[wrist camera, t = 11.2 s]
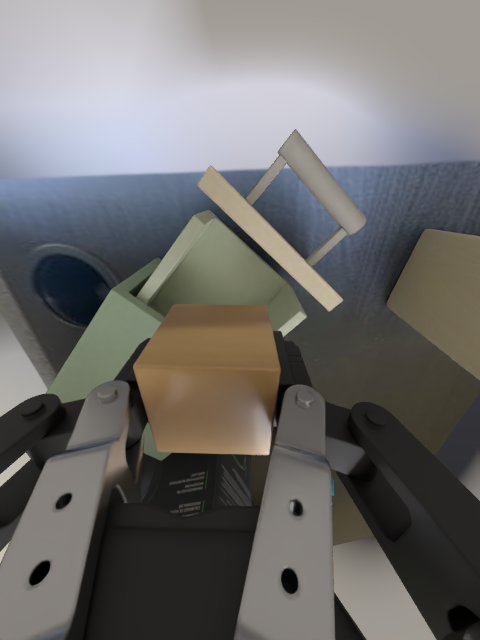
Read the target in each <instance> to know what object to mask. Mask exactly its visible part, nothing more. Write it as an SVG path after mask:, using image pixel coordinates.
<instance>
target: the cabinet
mask: <svg viewBox="0 0 480 640" xmlns="http://www.w3.org/2000/svg"><path fill="white" fill-rule="evenodd" d="M161 261H162V260H161V259H160V258H159V257H157V258H156V259H154V260H153V261H152V262H150V263H149V264H147V265H146V266H144V267H143V268H141V269H140V270H139V271H137V272H136V273H134V274H133V275H131V276H130V277H129V278H127V279H126V280H124V281H123V282H121V283H120V284H118V285H117V286H115V287H114V288H113V289H111V291H110V292H109V294H108V295H107V297H106V299H105V300H104V302H103V303H102V305H101V307H100V308H99V310H98V311H97V313H96V315H95V316H94V318H93V319H92V321H91V322H90V324H89V326H88V327H87V329H86V330H85V332H84V334H83V335H82V337H81V338H80V340H79V342H78V343H77V345H76V346H75V348H74V349H73V351H72V353H71V354H70V356H69V357H68V359H67V361H66V362H65V364H64V365H63V367H62V368H61V370H60V372H59V373H58V375H57V376H56V378H55V380H54V381H53V383H52V384H51V386H50V388H49V389H48V391H47V393H46V394H55V395H57V396H58V397H59V399H60V400H61V402H62V403H66V402H71V401H76V400H80V399H85V398H86V397H87V396H88V394H89V393H90V392H91V391H92V390H93V389H94V388H96V387H97V386H99V385H101V384H103V383H106V382H109V381H113V380H114V379H115V377H116V376H117V375H118V373H119V372H120V370H121V369H122V368H123V366H124V365H125V363H126V362H127V361H128V359H130V356H131V355H132V354H133V353H134V351H135V349H136V348H137V347H138V345H139V344H140V343H142V342H143V341H144V340H146V339H147V338H152V336H153V335H154V333H155V332H156V330H157V329H158V327H159V326H160V324H161V323H162V321H163V320H164V318H165V317H163V316H162V315H160V314H159V313H158V312H156V311H155V310H153V309H152V308H150V307H149V306H147V305H146V304H144V303H143V302H142V301H140V300H139V299H137V298H136V296H137V295H138V293H139V292H140V291H141V289H142V288H143V286H144V285H145V283H146V282H147V281H148V279H149V278H150V276H151V275H152V274H153V272H154V271H155V269H156V268H157V266H158V265H159V264H160V262H161ZM144 434H145V441H144V453H145V454H147V455H149V456H152V457H154V458H156V459H158V460H160V461H162V460H163V459H164V458H166V457H167V456H168V455H170V454H171V453H172V452H158V451H157V449H156V445H155V442H154V438H153V435H152V431H151V428H150V424H149V423H147V424H146V427H145V429H144Z"/></svg>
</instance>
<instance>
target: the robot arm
mask: <svg viewBox="0 0 480 640" xmlns="http://www.w3.org/2000/svg"><path fill="white" fill-rule="evenodd" d="M273 335H274V339H275V344H276V349H277V354H278V359H279V363H280V368H281V373H280V380H279V387H278V395H277V402H276V409H275V417H274V424H273V426H277V433H276V438H275V443H274V445H273V449H272V454H271V459H270V464H269V469H268V474H267V478H266V483H265V488H264V493H263V498H262V503H261V506H229V505H225V506H222V507H218V508H215V509H211V510H208V511H205V512H201V513H198V514H194V515H191V516H187V517H183V516H180V515H177V514H175V513H172V512H170V511H167V510H165V509H162V508H159V507H157V506H154V505H152V504H149V503H142V497H141V475H142V464H143V453H144V441H145V434H144V429H145V427H146V424H147V423H149V421H148V418H147V414H146V411H145V407H144V404H143V400H142V397H141V393H140V390H139V387H138V383H137V380H136V376H135V373H134V369H133V365H134V363H135V362H136V360H137V359H138V357H139V356H140V354H141V353H142V351H143V350H144V348H145V347H146V345H147V344H148V342H149V341H150V339H151V338H147V339H146V340H144V341H143V342H142V343H140V344H139V345H138V347H137V348H136V349H135V351H134V353H133V354H132V355H131V356H130V359H128V361H127V362H126V363H125V365H124V366H123V368H122V369H121V370H120V372H119V373H118V375H117V376H116V377H115V379H114V380H113V381H109V382H106V383H103V384H101V385H99V386H97V387H96V388H94V389H93V390H92V391H91V392H90V393H89V394H88V396H87V397H86V398H85V399H80V400H76V401H71V402H66V403H62V402H61V400H60V399H59V397H58V396H57V395H55V394H42V395H38V396H35V397H32V398H30V399H27V400H25V401H24V402H22V403H20V404H19V405H17V406H16V407H14V408H13V409H12V410H10V411H8V412H7V413H6V414H4V415H3V416H1V417H0V474H1V473H2V472H3V471H4V470H6V469H7V468H8V467H9V466H10V465H11V464H12V463H14V462H15V461H16V460H17V459H18V458H19V457H21V456H22V455H23V454H24V453H25V452H26V453H27V454H28V456H29V457H30V458H31V460H30V461H28V462H27V463H26V464H25V465H24V466H23V467H22V468H21V469H20V470H19V471H17V472H16V473H15V474H14V475H13V476H12V477H11V478H10V479H9V480H7V481H6V482H5V483H4V484H3V485H2V486H1V487H0V551H1V550H2V549H3V548H4V547H5V546H6V545H7V544H8V543H9V542H10V543H9V545H8V548H7V550H6V552H5V554H4V557H3V559H2V561H1V563H0V640H366V638H365V637H364V636H363V634H362V632H361V631H360V629H359V628H358V626H357V625H356V623H355V622H354V621H353V619H352V618H351V616H350V615H349V613H348V612H347V610H346V609H345V607H344V606H343V604H342V603H341V602H340V600H339V599H338V597H337V596H336V594H335V593H334V578H333V537H332V498H331V469H333V470H335V471H336V473H337V474H338V476H339V478H340V479H341V481H342V483H343V484H344V486H345V488H346V489H347V491H348V493H349V494H350V496H351V498H352V499H353V501H354V503H355V504H356V506H357V508H358V509H359V511H360V513H361V514H362V516H363V518H364V519H365V521H366V523H367V524H368V526H369V528H370V529H371V531H372V533H373V534H374V536H375V538H376V539H377V541H378V543H379V544H380V546H381V548H382V549H383V551H384V553H385V554H386V556H387V558H388V559H389V561H390V562H391V564H392V566H393V568H394V569H395V571H396V573H397V574H398V576H399V578H400V579H401V581H402V583H403V584H404V586H405V588H406V589H407V591H408V593H409V594H410V596H411V598H412V599H413V601H414V603H415V604H416V606H417V608H418V609H419V611H420V613H421V614H422V616H423V618H424V619H425V621H426V622H427V624H428V626H429V628H430V629H431V631H432V633H433V634H434V636H435V638H436V639H437V640H480V501H479V500H478V499H477V498H476V497H475V496H474V495H473V494H472V493H471V492H470V491H469V490H468V489H467V488H466V487H465V486H464V485H463V484H462V483H461V482H460V481H459V480H458V479H457V478H456V477H455V476H454V475H453V474H452V473H451V472H450V471H449V470H448V469H447V468H446V467H445V466H444V465H443V464H442V463H440V462H439V460H438V459H437V458H436V457H435V456H434V455H433V454H432V453H431V452H430V451H429V450H428V449H427V448H425V447H424V446H423V445H422V444H421V443H420V442H419V441H418V440H417V439H416V438H415V437H414V436H413V435H412V434H411V433H410V432H409V431H408V430H407V429H406V428H405V427H404V426H403V425H402V424H401V423H400V422H399V421H398V420H397V419H396V418H395V417H394V416H393V415H392V414H391V413H390V412H388V411H387V410H386V409H384V408H382V407H381V406H378V405H376V404H373V403H369V402H360V403H357V404H355V405H354V406H353V407H352V410H350V409H346V408H343V407H339V406H336V405H333V404H330V403H328V402H326V401H325V400H324V398H323V396H322V395H321V394H320V393H319V392H318V391H317V390H315V389H314V388H313V387H312V384H311V381H310V378H309V376H308V373H307V370H306V367H305V364H304V363H303V359H302V357H301V353H300V350H299V348H298V347H297V346H296V345H295V344H294V343H293V342H292V341H284V339H283V335H282V332H281V331H273ZM10 540H11V541H10Z"/></svg>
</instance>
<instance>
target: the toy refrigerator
mask: <svg viewBox="0 0 480 640" xmlns="http://www.w3.org/2000/svg"><path fill="white" fill-rule="evenodd" d="M387 307H388V308H389V309H390V310H391V311H393V312H394V313H395V314H396V315H398V316H399V317H400V318H401V319H403V320H404V321H405V322H407V323H408V324H409V325H410V326H412V327H413V328H414V329H415V330H417V331H418V332H419V333H420V334H422V335H423V336H424V337H425V338H427V339H428V340H429V341H430V342H432V343H433V344H434V345H435V346H437V347H438V348H439V349H441V350H442V351H443V352H444V353H446V354H447V355H448V356H449V357H451V358H452V359H453V360H454V361H456V362H457V363H458V364H459V365H461V366H462V367H463V368H465V369H466V370H467V371H468V372H470V373H471V374H472V375H474V376H475V377H476V378H477V379H479V380H480V236H475V235H468V234H461V233H455V232H448V231H441V230H434V229H425V230H424V231H423V233H422V235H421V236H420V238H419V240H418V242H417V244H416V246H415V248H414V250H413V252H412V254H411V256H410V258H409V260H408V261H407V263H406V265H405V267H404V269H403V271H402V273H401V275H400V277H399V279H398V281H397V283H396V285H395V287H394V289H393V291H392V293H391V295H390V297H389V299H388V301H387Z"/></svg>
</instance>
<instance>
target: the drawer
mask: <svg viewBox="0 0 480 640" xmlns="http://www.w3.org/2000/svg"><path fill="white" fill-rule="evenodd" d="M278 154H279V156H278V158H277V159H276V160H275V162H274V163H273V164H272V165H271V167H270V168H269V169H268V170H267V172H266V173H265V174H264V176H263V177H262V178H261V179H260V181H259V182H258V183H257V184H256V186H255V187H254V188H253V190H252V191H251V192H250V193H249V195H248V196H247V197H246V198H244V197H243V196H242V195H241V194H240V193H239V192H238V191H237V190H236V189H235V188H234V187H233V186H232V185H231V184H230V183H229V182H228V181H227V180H226V179H225V178H224V177H223V176H222V175H221V174H220V173H219V172H217V171H216V170H215V169H214V168H213V167H212V166H209V168H208V169H207V171H206V172H205V174H204V175H203V177H202V178H201V180H200V181H199V183H198V184H197V186H198V187H199V188H200V189H201V190H202V191H203V192H204V193H205V194H206V195H207V196H208V197H209V198H211V199H212V200H213V201H214V202H215V203H216V204H217V205H218V206H219V207H220V208H221V209H222V210H223V211H224V212H225V213H226V214H227V215H228V216H229V217H230V218H231V219H233V220H234V221H235V222H236V223H237V224H238V225H239V226H240V227H241V228H242V229H243V230H244V231H245V232H246V233H247V234H248V235H249V236H250V237H251V238H252V239H253V240H255V241H256V242H257V243H258V244H259V245H260V246H261V247H262V248H263V249H264V250H265V251H266V252H267V253H268V254H269V255H270V256H271V257H272V258H273V259H274V260H275V261H277V262H278V263H279V264H280V265H281V266H282V267H283V268H284V269H285V270H286V271H287V272H288V273H289V274H290V275H291V276H292V277H293V278H294V279H295V280H296V281H297V282H299V283H300V284H301V285H302V286H303V287H304V288H305V289H306V290H307V291H308V292H309V293H310V294H311V295H312V296H313V297H314V298H315V299H316V300H317V301H318V302H319V303H321V304H322V305H323V306H324V307H325V308H326V309H327V310H328V311H331V310H332V309H333V308H334V307H336V306H337V305H338V304H339V303H341V302H342V301H343V299H342V298H341V297H340V296H339V295H338V294H337V293H336V292H335V290H334V289H333V288H332V287H331V286H330V285H329V284H328V283H327V282H326V281H325V280H324V279H323V278H322V277H321V276H320V275H319V274H318V273H317V272H316V271H315V269H314V268H313V266H314V265H315V264H316V263H317V262H318V261H319V260H320V259H321V258H322V257H323V256H324V255H325V254H326V253H327V252H329V251H330V250H331V249H332V248H333V247H334V246H335V245H336V244H337V243H338V242H339V241H340V240H341V239H342V238H343V237H344V236H346V235H351V234H353V233H355V232H357V231H358V230H359V229H361V228H362V227H363V226H364V224H365V223H366V218H365V216H364V215H363V214H362V213H361V211H360V210H359V209H358V207H357V206H356V205H355V204H354V202H353V201H352V200H351V199H350V197H349V196H348V195H347V193H346V192H345V191H344V190H343V188H342V187H341V186H340V185H339V183H338V182H337V181H336V180H335V178H334V177H333V176H332V174H331V173H330V172H329V171H328V169H327V168H326V167H325V166H324V164H323V163H322V162H321V161H320V159H319V158H318V157H317V155H316V154H315V153H314V152H313V150H312V149H311V148H310V147H309V145H308V144H307V143H306V141H305V140H304V139H303V138H302V136H301V135H300V134H299V133H298V131H297V130H296V129H295V130H294V131H293V133H292V134H291V135H290V136H289V138H288V139H287V140H286V142H285V143H284V144H283V145H282V147H281V148H280V149H279V151H278ZM286 163H287V164H288V166H289V167H290V168H291V169H292V170H293V172H294V173H295V174H296V175H297V176H298V177H299V179H300V180H301V181H302V182H303V183H304V184H305V186H306V187H307V188H308V189H309V190H310V191H311V193H312V194H313V195H314V196H315V197H316V199H317V200H318V201H319V202H320V203H321V204H322V206H323V207H324V208H325V209H326V210H327V211H328V213H329V214H330V215H331V216H332V217H333V219H334V220H335V221H336V222H337V223H338V224H339V226H340V227H339V228H338V229H337V230H336V231H335V232H334V233H332V234H331V235H330V236H329V237H328V238H327V239H326V240H325V241H324V242H323V243H322V244H321V245H320V246H319V247H318V248H317V249H316V250H315V251H314V252H313V253H312V254H311V255H310V256H309V257H308V258H307V259H306V260H305V259H304V258H303V257H302V256H301V255H300V254H299V253H298V252H297V251H296V250H295V249H294V248H293V247H292V246H291V245H290V244H289V243H288V242H287V241H286V240H285V239H284V238H283V237H282V236H281V235H280V234H279V233H278V232H277V231H276V230H275V229H274V228H273V227H272V226H271V225H270V224H269V223H268V222H267V221H266V220H265V219H264V218H263V217H262V216H261V215H260V214H259V213H258V212H257V211H256V210H255V209H254V208H253V207H252V205H253V204H254V203H255V202H256V200H257V199H258V198H259V197H260V196H261V194H262V193H263V192H264V191H265V189H266V188H267V187H268V186H269V184H270V183H271V182H272V181H273V179H274V178H275V177H276V176H277V175H278V173H279V172H280V171H281V170H282V168H283V167H284V166H285V165H286ZM136 298H137V299H139V300H140V301H142V302H143V303H144V304H146V305H147V306H149V307H150V308H152V309H153V310H155V311H156V312H158V313H159V314H160V315H162V316H163V317H166V315H167V314H168V312H169V311H170V309H171V308H172V306H173V305H174V304H208V305H257V306H267V307H268V311H269V315H270V320H271V325H272V330H273V331H281V332H282V335H283V337H284V336H285V335H286V334H287V333H288V332H290V331H291V330H292V329H293V328H294V327H296V326H297V325H298V324H299V323H300V322H301V321H303V320H304V319H305V318H306V317H307V316H306V314H305V312H304V310H303V308H302V306H301V304H300V302H299V300H298V298H297V296H296V294H295V292H294V291H293V288H292V286H291V285H290V284H289V283H288V282H287V281H286V280H284V279H283V278H282V277H281V276H280V275H279V274H278V273H277V272H276V271H275V270H274V269H273V268H272V267H271V266H269V265H268V264H267V263H266V262H265V261H264V260H263V259H262V258H261V257H260V256H259V255H258V254H257V253H256V252H254V251H253V250H252V249H251V248H250V247H249V246H248V245H247V244H246V243H245V242H244V241H243V240H242V239H241V238H239V237H238V236H237V235H236V234H235V233H234V232H233V231H232V230H231V229H230V228H229V227H228V226H227V225H226V224H224V223H223V222H222V221H221V220H220V219H219V218H218V217H217V216H216V215H215V214H214V213H213V212H212V211H211V210H207V211H204V212H201V213H198V214H195V215H193V217H192V218H191V220H190V221H189V222H188V224H187V225H186V227H185V228H184V229H183V231H182V232H181V234H180V235H179V237H178V238H177V239H176V241H175V242H174V244H173V245H172V247H171V248H170V249H169V251H168V252H167V254H166V255H165V256H164V258H163V259H162V261H161V262H160V264H159V265H158V266H157V268H156V269H155V271H154V272H153V274H152V275H151V276H150V278H149V279H148V281H147V282H146V283H145V285H144V286H143V288H142V289H141V291H140V292H139V293H138V295H137V296H136Z"/></svg>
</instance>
